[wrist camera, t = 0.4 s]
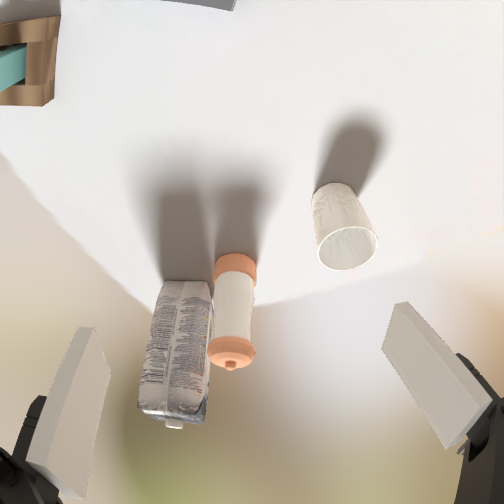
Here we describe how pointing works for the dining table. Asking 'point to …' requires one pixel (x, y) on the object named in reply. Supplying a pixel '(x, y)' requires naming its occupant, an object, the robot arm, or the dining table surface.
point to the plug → (12, 65)
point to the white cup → (341, 228)
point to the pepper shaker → (233, 311)
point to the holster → (32, 60)
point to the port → (211, 3)
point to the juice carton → (178, 355)
